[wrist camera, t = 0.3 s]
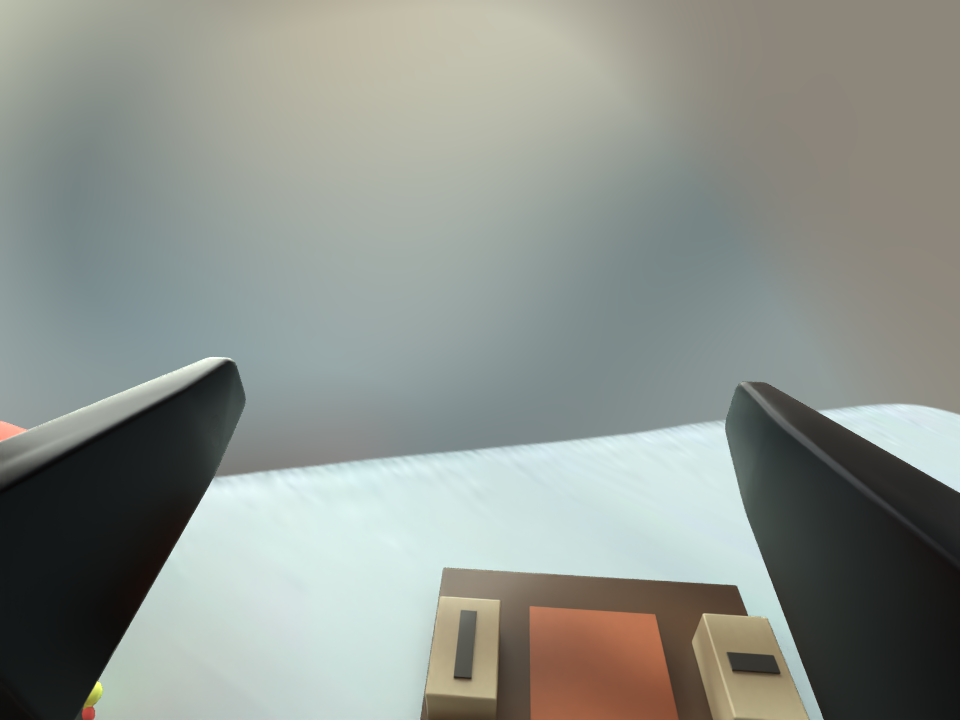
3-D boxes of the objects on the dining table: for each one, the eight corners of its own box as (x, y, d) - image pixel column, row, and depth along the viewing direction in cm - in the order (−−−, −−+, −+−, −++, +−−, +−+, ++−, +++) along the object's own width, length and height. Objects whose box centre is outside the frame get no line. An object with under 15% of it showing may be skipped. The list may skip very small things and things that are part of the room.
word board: (825, 877, 16) (872, 836, 14) (408, 837, 17) (398, 793, 15) (728, 604, 24) (750, 553, 22) (444, 586, 24) (441, 536, 22)
